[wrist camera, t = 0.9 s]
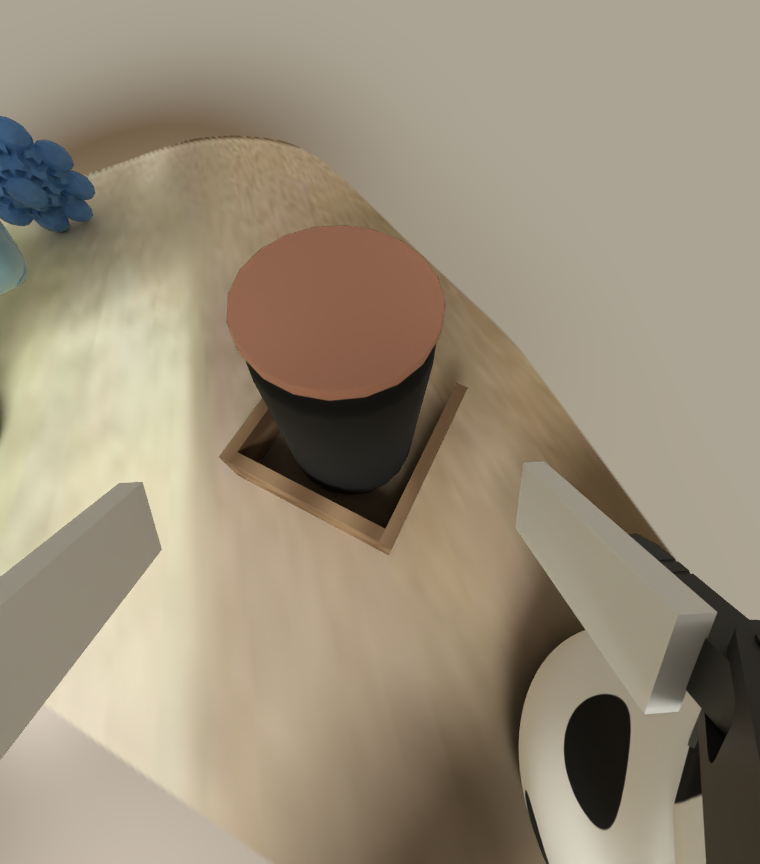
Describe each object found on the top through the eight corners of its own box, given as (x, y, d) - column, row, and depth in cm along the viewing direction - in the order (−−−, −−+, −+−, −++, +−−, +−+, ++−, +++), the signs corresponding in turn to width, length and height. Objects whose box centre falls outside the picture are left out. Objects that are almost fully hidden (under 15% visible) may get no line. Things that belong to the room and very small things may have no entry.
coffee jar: (345, 374, 37) (326, 197, 21) (431, 433, 35) (487, 286, 18) (270, 450, 34) (176, 309, 17) (360, 523, 31) (351, 439, 15)
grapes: (18, 269, 42) (-105, 153, 31) (8, 234, 44) (-110, 114, 33) (122, 235, 45) (42, 117, 34) (107, 203, 47) (28, 84, 36)
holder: (237, 474, 32) (218, 457, 28) (323, 352, 38) (318, 323, 34) (388, 555, 30) (391, 548, 26) (456, 411, 36) (467, 387, 32)
